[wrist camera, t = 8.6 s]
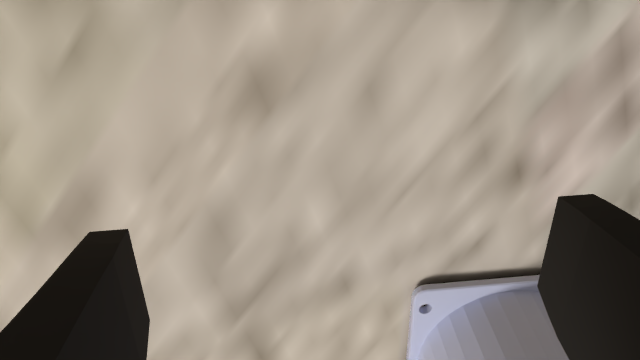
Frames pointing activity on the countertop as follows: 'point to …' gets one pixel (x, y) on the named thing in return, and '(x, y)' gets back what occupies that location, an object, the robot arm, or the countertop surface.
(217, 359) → the countertop surface
